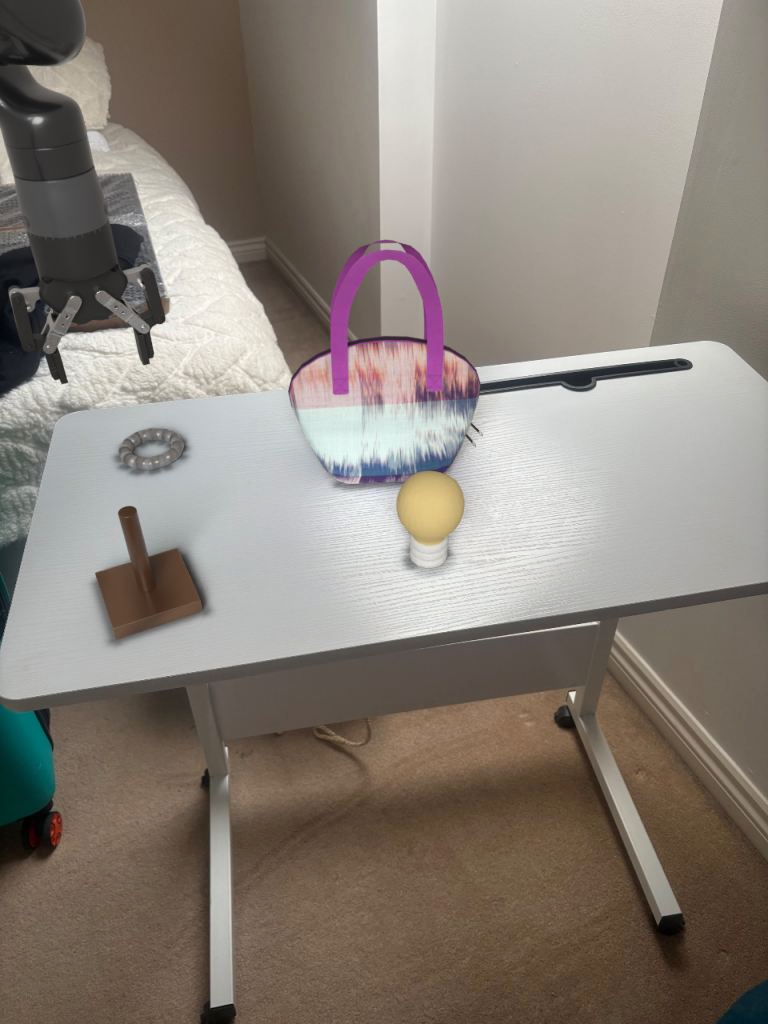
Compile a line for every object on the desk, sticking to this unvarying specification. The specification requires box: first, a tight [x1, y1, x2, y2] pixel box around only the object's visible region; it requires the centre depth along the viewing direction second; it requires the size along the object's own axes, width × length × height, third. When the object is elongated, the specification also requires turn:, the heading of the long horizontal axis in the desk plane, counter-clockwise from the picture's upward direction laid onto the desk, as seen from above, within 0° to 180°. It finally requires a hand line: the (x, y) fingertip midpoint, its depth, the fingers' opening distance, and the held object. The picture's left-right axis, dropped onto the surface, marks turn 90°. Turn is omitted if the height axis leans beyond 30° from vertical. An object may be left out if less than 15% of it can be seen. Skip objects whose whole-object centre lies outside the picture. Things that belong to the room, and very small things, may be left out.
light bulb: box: [395, 471, 466, 569], centre depth 79 cm, size 6×6×10 cm
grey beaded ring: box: [117, 427, 185, 471], centre depth 96 cm, size 7×7×1 cm
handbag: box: [287, 239, 484, 485], centre depth 87 cm, size 21×10×25 cm, turn 94°
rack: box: [94, 505, 204, 640], centre depth 75 cm, size 8×8×10 cm
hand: (104, 371), depth 88 cm, fingers open, 8 cm apart
